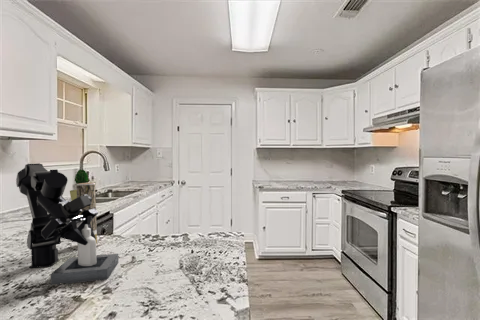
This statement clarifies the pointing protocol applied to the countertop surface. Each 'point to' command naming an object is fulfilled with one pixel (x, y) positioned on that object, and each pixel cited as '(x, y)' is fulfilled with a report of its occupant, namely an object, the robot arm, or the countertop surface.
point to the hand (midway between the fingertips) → (90, 242)
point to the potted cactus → (79, 178)
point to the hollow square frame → (85, 270)
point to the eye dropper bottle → (87, 249)
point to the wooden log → (90, 190)
